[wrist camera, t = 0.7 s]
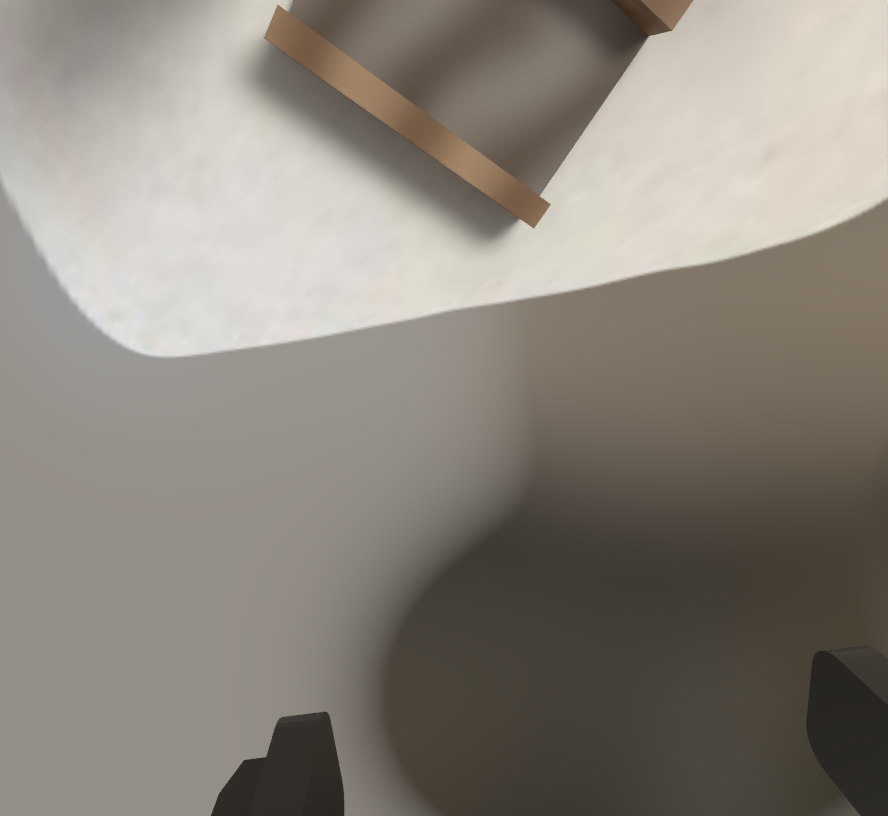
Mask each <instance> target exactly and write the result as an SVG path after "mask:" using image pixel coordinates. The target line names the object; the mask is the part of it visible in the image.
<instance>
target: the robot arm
mask: <svg viewBox="0 0 888 816" xmlns="http://www.w3.org/2000/svg"><path fill="white" fill-rule="evenodd" d="M806 727H807V735H808V739H809V742H810V745H811V748H812V750H813V752H814V755H815V756H816V758H817V760H818V762H819V764H820V765H821V767H822V768H823V769H824V771H825V772H826V773H827V774H828V776H829V777H830V778H831V779H832V781H833V782H834V783H835V784H836V786H837V787H838V788H839V789H840V791H841V792H842V793H843V794H844V796H845V797H846V798H847V799H848V801H849V802H850V803H851V804H852V805H853V807H854V808H855V809H856V810H857V812H858V813H859V814H860V815H861V816H888V658H887V657H885V656H884V655H883V654H882V653H881V652H879V651H878V650H876V649H875V648H873V647H870V646H866V645H863V646H855V647H847V648H839V649H831V650H823V651H819V652H817V653H816V654H815V655H814V657H813V660H812V669H811V680H810V690H809V700H808V711H807V722H806ZM211 816H344V790H343V783H342V777H341V772H340V767H339V761H338V756H337V751H336V746H335V741H334V736H333V731H332V725H331V720H330V717H329V714H328V713H327V712H320V713H312V714H304V715H296V716H287V717H281V718H280V719H279V720H278V722H277V724H276V727H275V730H274V733H273V736H272V740H271V743H270V746H269V750H268V753H267V757H265V758H257V759H250V760H244V761H243V762H242V764H241V765H240V766H239V768H238V769H237V770H236V772H235V773H234V774H233V776H232V777H231V778H230V780H229V781H228V783H227V784H226V785H225V787H224V788H223V789H222V791H221V792H220V793H219V795H218V798H217V801H216V804H215V806H214V809H213V812H212V814H211Z"/></svg>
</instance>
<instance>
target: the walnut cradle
mask: <svg viewBox="0 0 888 816" xmlns="http://www.w3.org/2000/svg"><path fill="white" fill-rule="evenodd" d="M692 1H693V0H294V2H293V5H292V7H291V9H290V12H289V13H288V12H287V11H286V10H284V9H283V8H282V7H280V6H279V5H277V8H276V10H275V13H274V15H273V18H272V20H271V22H270V25H269V27H268V30H267V32H266V35H265V37H264V39H266V40H267V41H269V42H270V43H271V44H273V45H274V46H276V47H277V48H278V49H280V50H281V51H283V52H284V53H286V54H287V55H288V56H290V57H291V58H293V59H294V60H295V61H297V62H298V63H300V64H301V65H303V66H304V67H305V68H307V69H308V70H310V71H311V72H313V73H314V74H315V75H317V76H318V77H320V78H321V79H322V80H324V81H325V82H327V83H328V84H330V85H331V86H332V87H334V88H335V89H337V90H338V91H339V92H341V93H342V94H344V95H345V96H347V97H348V98H349V99H351V100H352V101H354V102H355V103H357V104H358V105H359V106H361V107H362V108H364V109H365V110H366V111H368V112H369V113H371V114H372V115H374V116H375V117H376V118H378V119H379V120H381V121H382V122H383V123H385V124H386V125H388V126H389V127H391V128H392V129H393V130H395V131H396V132H398V133H399V134H401V135H402V136H403V137H405V138H406V139H408V140H409V141H410V142H412V143H413V144H415V145H416V146H418V147H419V148H420V149H422V150H423V151H425V152H426V153H427V154H429V155H430V156H432V157H433V158H435V159H436V160H437V161H439V162H440V163H442V164H443V165H445V166H446V167H447V168H449V169H450V170H452V171H453V172H454V173H456V174H457V175H459V176H460V177H462V178H463V179H464V180H466V181H467V182H469V183H470V184H471V185H473V186H474V187H476V188H477V189H479V190H480V191H481V192H483V193H484V194H486V195H487V196H489V197H490V198H491V199H493V200H494V201H496V202H497V203H498V204H500V205H501V206H503V207H504V208H506V209H507V210H508V211H510V212H511V213H513V214H514V215H515V216H517V217H518V218H520V219H521V220H523V221H524V222H525V223H527V224H528V225H530V226H531V227H533V228H535V226H536V225H537V223H538V222H539V220H540V219H541V218H542V216H543V215H544V213H545V212H546V210H547V209H548V208H549V206H550V205H551V204H549V203H548V202H547V201H545V200H544V199H542V198H541V197H540V194H541V193H542V192H543V190H544V189H545V187H546V186H547V184H548V183H549V181H550V180H551V178H552V177H553V175H554V174H555V173H556V171H557V170H558V168H559V167H560V165H561V164H562V162H563V161H564V159H565V158H566V156H567V155H568V154H569V152H570V151H571V149H572V148H573V146H574V145H575V143H576V142H577V140H578V139H579V137H580V136H581V135H582V133H583V132H584V130H585V129H586V127H587V126H588V124H589V123H590V121H591V120H592V119H593V117H594V116H595V114H596V113H597V111H598V110H599V108H600V107H601V105H602V104H603V102H604V101H605V100H606V98H607V97H608V95H609V94H610V92H611V91H612V89H613V88H614V86H615V85H616V83H617V82H618V81H619V79H620V78H621V76H622V75H623V73H624V72H625V70H626V69H627V67H628V66H629V64H630V63H631V62H632V60H633V59H634V57H635V56H636V54H637V53H638V51H639V50H640V48H641V47H642V46H643V44H644V43H645V41H646V40H647V38H648V37H649V36H651V35H655V34H659V33H664V32H668V31H672V30H673V29H674V27H675V26H676V24H677V23H678V21H679V20H680V19H681V17H682V16H683V14H684V13H685V11H686V10H687V9H688V7H689V6H690V4H691V3H692Z"/></svg>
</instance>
